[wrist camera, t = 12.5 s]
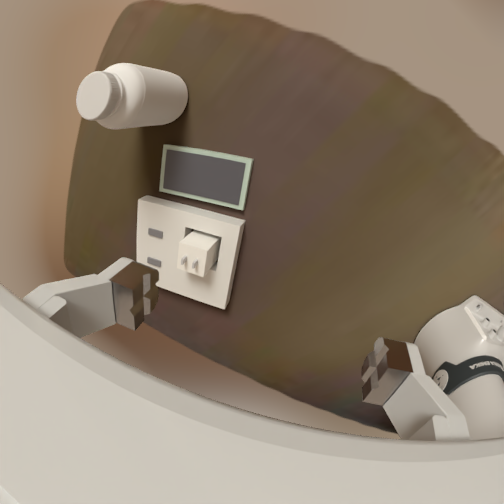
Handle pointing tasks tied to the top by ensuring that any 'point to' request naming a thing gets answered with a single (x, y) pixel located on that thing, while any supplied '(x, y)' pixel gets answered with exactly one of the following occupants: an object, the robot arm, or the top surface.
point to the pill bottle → (131, 96)
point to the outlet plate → (167, 245)
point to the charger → (198, 252)
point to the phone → (205, 175)
